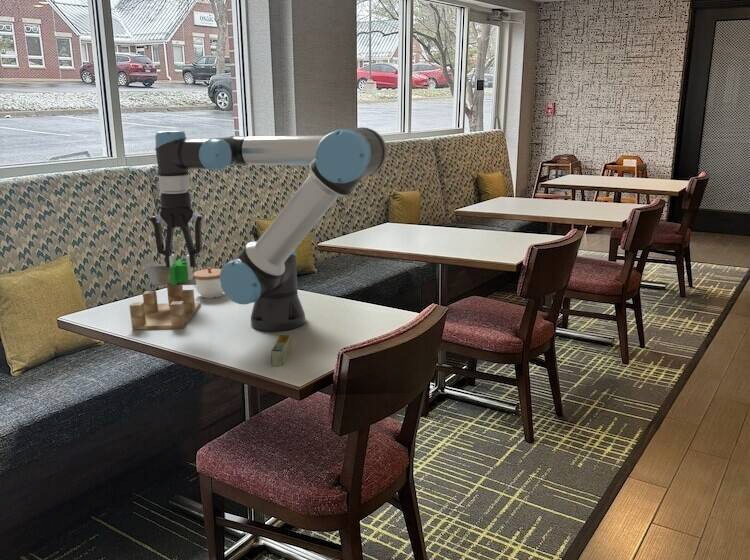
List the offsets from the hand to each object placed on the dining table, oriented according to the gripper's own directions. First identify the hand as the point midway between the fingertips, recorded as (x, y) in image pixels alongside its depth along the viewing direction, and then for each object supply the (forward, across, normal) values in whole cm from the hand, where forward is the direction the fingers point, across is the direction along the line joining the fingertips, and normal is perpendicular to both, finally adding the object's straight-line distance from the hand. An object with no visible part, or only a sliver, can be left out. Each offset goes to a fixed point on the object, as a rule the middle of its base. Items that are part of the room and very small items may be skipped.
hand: (182, 278), depth 183 cm
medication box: (+15, -28, +23) cm, 39 cm away
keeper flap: (+4, +8, -20) cm, 22 cm away
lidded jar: (+15, 0, -36) cm, 39 cm away
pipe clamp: (+1, 0, 0) cm, 1 cm away
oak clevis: (+15, +8, -13) cm, 22 cm away
